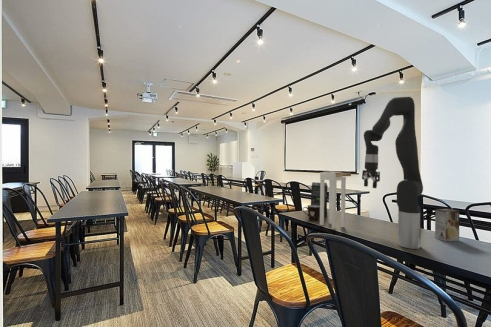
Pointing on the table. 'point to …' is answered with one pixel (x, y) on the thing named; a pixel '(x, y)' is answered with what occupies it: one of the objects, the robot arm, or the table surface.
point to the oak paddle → (340, 174)
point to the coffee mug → (313, 212)
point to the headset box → (318, 196)
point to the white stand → (332, 198)
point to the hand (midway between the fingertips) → (370, 187)
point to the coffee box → (447, 224)
